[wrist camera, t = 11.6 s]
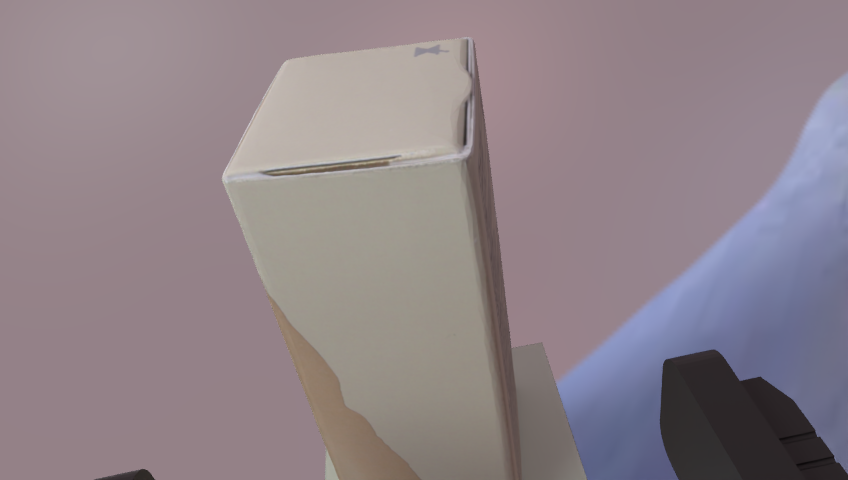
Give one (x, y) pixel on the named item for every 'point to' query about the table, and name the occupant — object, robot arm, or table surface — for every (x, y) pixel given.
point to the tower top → (535, 422)
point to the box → (385, 258)
